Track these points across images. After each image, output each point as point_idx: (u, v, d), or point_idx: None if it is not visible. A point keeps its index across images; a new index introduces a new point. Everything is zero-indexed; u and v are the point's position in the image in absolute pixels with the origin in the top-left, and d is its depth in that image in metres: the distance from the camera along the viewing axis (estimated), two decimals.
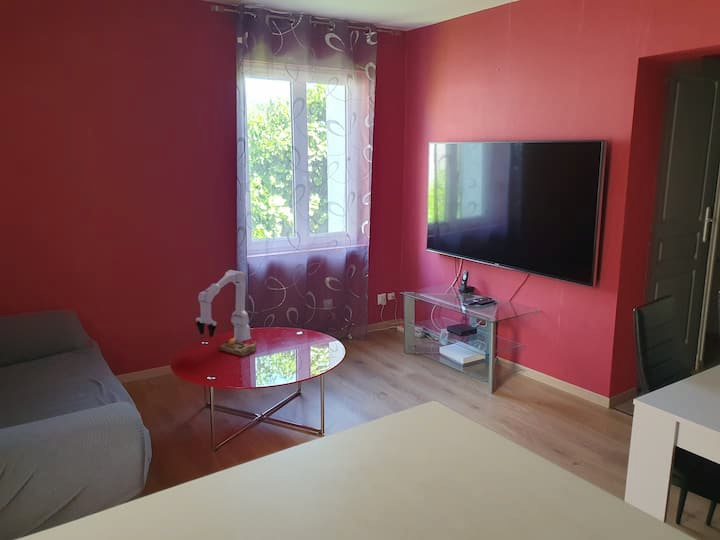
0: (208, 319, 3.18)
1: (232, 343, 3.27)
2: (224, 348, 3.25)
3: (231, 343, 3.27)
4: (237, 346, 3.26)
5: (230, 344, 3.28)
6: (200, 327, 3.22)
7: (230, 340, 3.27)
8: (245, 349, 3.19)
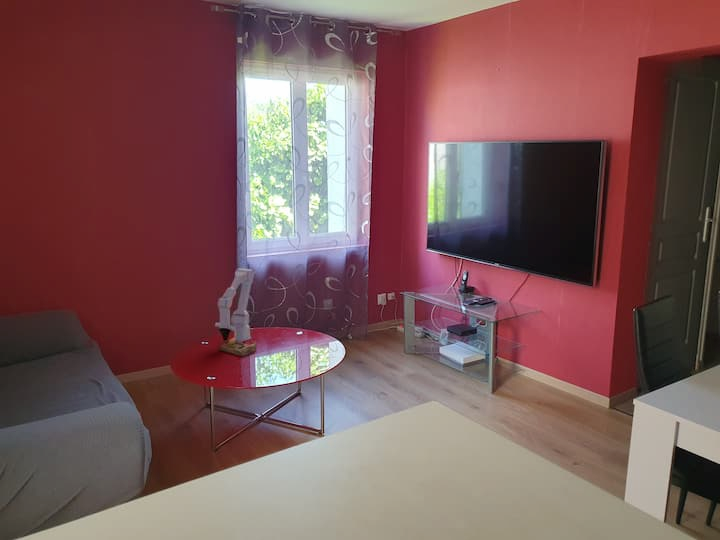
0: (227, 324, 3.27)
1: (232, 343, 3.27)
2: (224, 348, 3.25)
3: (231, 343, 3.27)
4: (237, 346, 3.26)
5: (230, 344, 3.28)
6: None
7: (230, 340, 3.27)
8: (245, 349, 3.19)
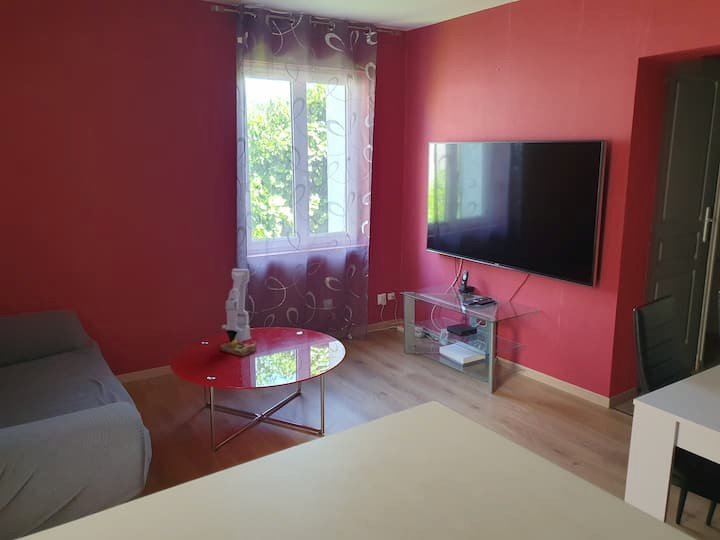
0: (234, 326, 3.24)
1: (233, 345, 3.27)
2: (224, 348, 3.25)
3: None
4: (237, 346, 3.26)
5: (231, 343, 3.27)
6: None
7: (234, 343, 3.26)
8: (245, 349, 3.19)
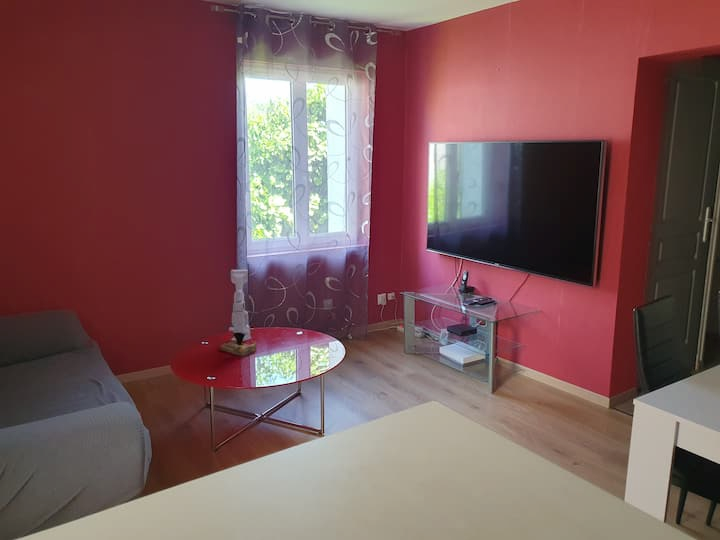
0: (241, 329, 3.21)
1: (241, 346, 3.24)
2: (224, 348, 3.25)
3: (240, 346, 3.24)
4: (237, 346, 3.26)
5: (242, 347, 3.23)
6: None
7: None
8: (245, 349, 3.19)
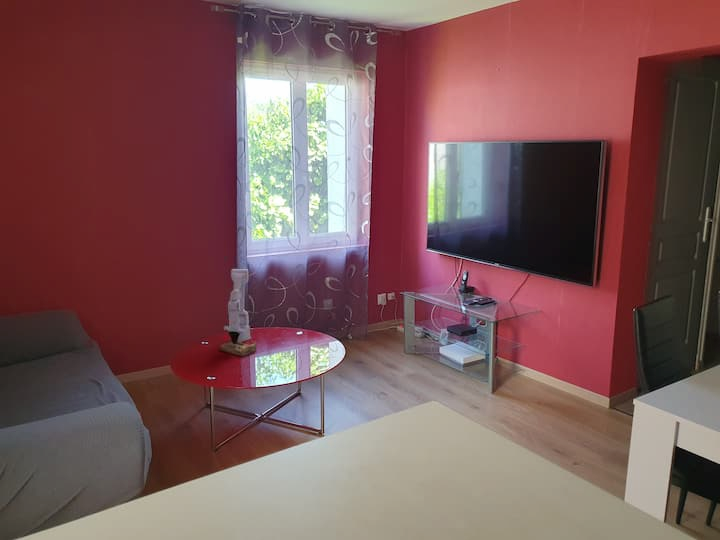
0: (237, 328, 3.24)
1: (241, 346, 3.24)
2: (224, 348, 3.25)
3: (241, 346, 3.24)
4: (237, 346, 3.26)
5: None
6: None
7: None
8: (245, 349, 3.19)
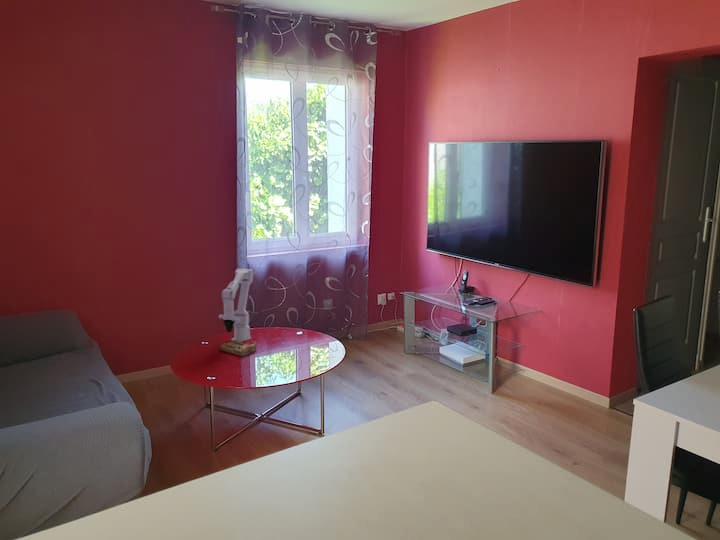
0: (231, 316, 3.25)
1: (242, 346, 3.24)
2: (224, 348, 3.25)
3: (241, 346, 3.24)
4: (237, 346, 3.26)
5: None
6: None
7: None
8: (245, 349, 3.19)
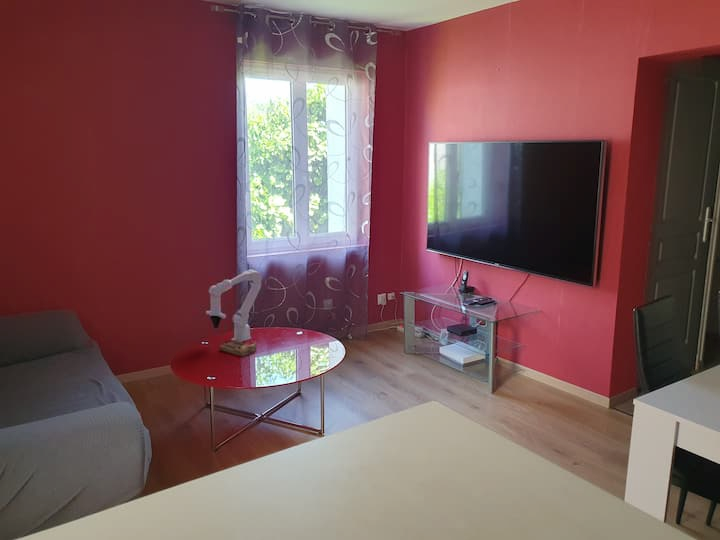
0: (218, 312, 3.32)
1: (242, 346, 3.24)
2: (224, 348, 3.25)
3: (242, 346, 3.24)
4: (237, 346, 3.26)
5: None
6: None
7: (240, 348, 3.25)
8: (245, 349, 3.19)
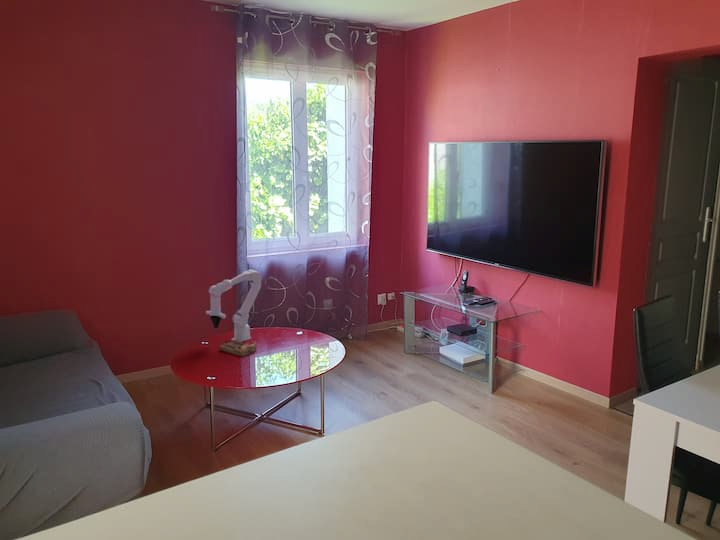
0: (218, 312, 3.32)
1: (243, 346, 3.24)
2: (224, 348, 3.25)
3: (242, 346, 3.24)
4: (237, 346, 3.26)
5: None
6: None
7: (240, 348, 3.24)
8: (245, 349, 3.19)
